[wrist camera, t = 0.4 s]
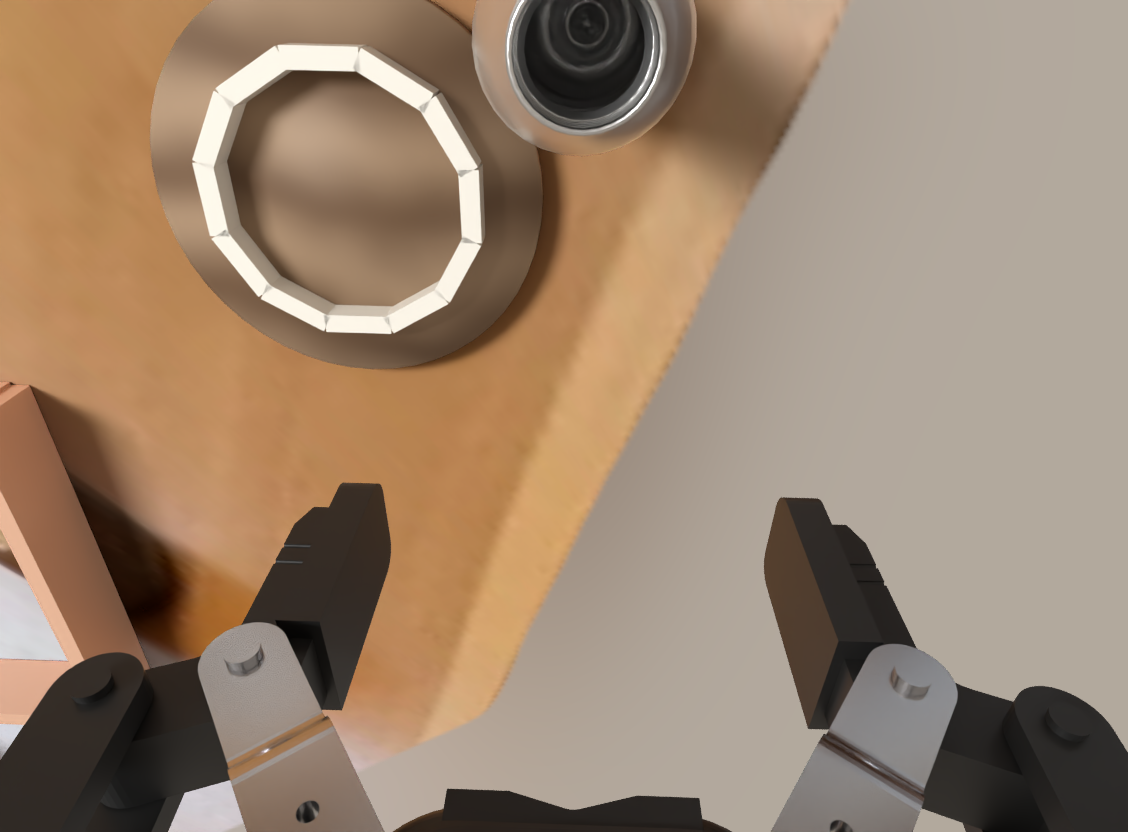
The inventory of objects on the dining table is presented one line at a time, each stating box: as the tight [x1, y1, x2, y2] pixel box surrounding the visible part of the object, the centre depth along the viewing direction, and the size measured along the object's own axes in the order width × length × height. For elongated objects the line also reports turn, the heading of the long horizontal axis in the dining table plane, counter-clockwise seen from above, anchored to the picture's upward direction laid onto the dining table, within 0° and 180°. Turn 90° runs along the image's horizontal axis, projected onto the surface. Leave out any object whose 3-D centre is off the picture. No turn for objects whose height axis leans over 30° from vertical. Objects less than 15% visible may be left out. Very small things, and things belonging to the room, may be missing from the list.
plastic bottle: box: [472, 0, 697, 156], centre depth 24 cm, size 6×7×20 cm
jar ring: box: [192, 43, 485, 334], centre depth 35 cm, size 14×14×2 cm
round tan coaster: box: [150, 0, 543, 369], centre depth 37 cm, size 20×20×1 cm
